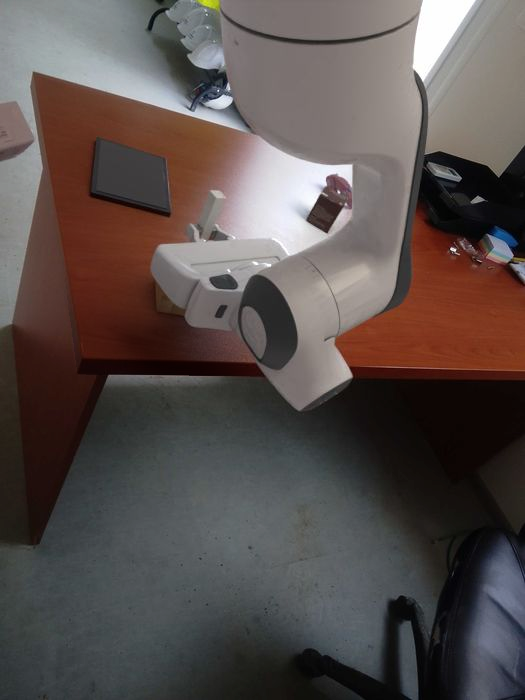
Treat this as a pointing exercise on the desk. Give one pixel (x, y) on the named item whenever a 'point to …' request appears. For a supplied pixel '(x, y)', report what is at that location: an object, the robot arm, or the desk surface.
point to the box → (326, 209)
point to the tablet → (130, 177)
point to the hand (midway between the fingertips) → (199, 227)
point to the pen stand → (166, 303)
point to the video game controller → (340, 187)
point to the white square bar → (210, 212)
